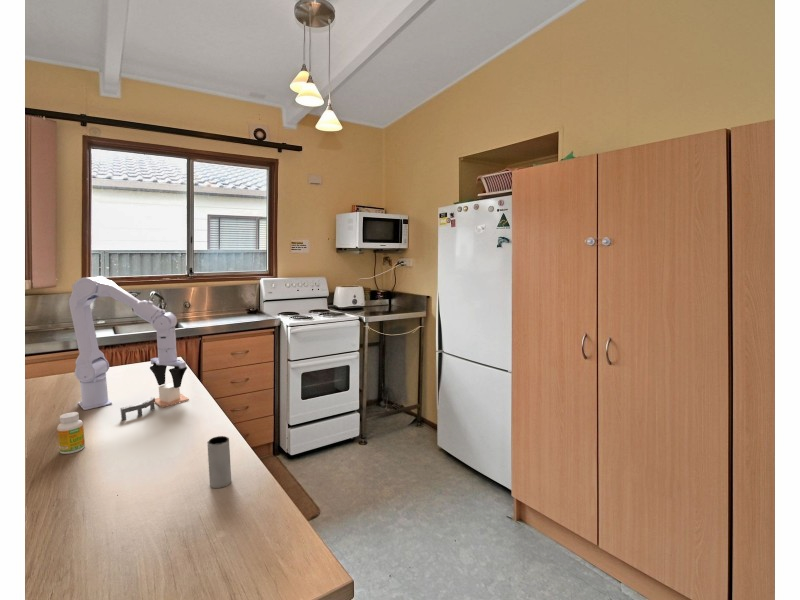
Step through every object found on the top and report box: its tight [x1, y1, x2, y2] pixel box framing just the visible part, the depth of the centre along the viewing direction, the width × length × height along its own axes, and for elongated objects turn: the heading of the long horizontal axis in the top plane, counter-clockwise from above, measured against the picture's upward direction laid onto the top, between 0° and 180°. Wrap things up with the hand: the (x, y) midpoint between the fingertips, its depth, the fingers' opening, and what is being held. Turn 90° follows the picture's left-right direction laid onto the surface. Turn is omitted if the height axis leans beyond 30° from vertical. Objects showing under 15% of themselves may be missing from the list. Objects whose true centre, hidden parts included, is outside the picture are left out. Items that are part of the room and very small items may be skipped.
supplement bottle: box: [56, 411, 86, 455], centre depth 112 cm, size 5×5×10 cm
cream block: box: [158, 382, 181, 402], centre depth 148 cm, size 4×4×5 cm
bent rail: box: [119, 397, 156, 421], centre depth 137 cm, size 5×10×4 cm, turn 137°
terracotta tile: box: [154, 393, 190, 408], centre depth 149 cm, size 9×9×1 cm
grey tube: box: [206, 435, 232, 489], centre depth 96 cm, size 4×4×10 cm
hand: (169, 385), depth 148 cm, fingers open, 7 cm apart
